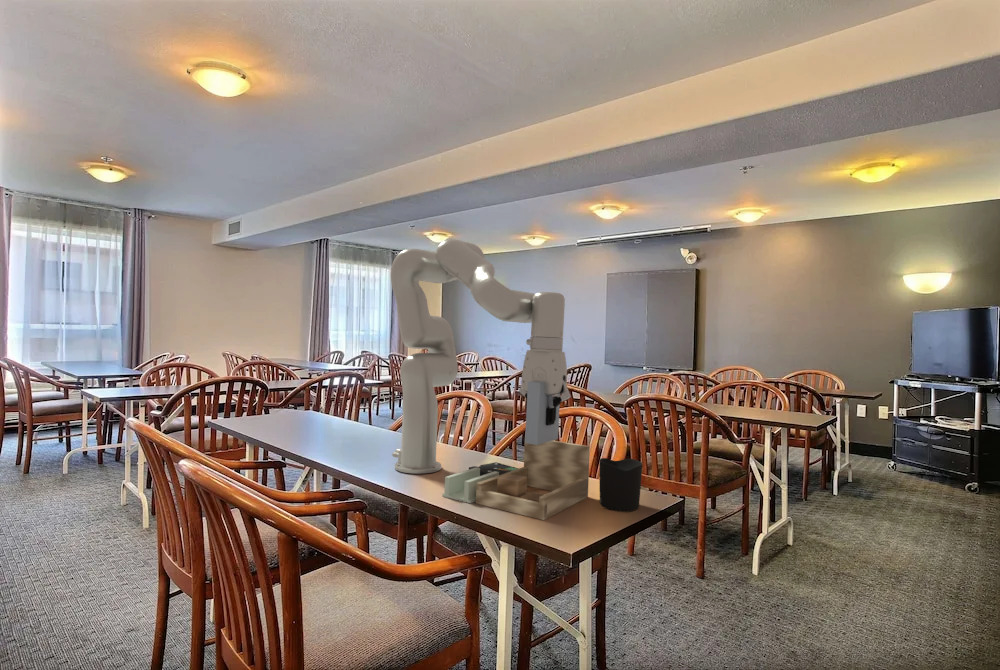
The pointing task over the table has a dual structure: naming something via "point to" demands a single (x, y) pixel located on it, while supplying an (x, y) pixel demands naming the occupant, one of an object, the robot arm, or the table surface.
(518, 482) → the offcut
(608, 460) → the pen holder
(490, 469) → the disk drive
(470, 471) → the stand
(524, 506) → the tray
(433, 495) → the table surface
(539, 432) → the blue-grey flat block
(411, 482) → the table surface
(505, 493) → the offcut
